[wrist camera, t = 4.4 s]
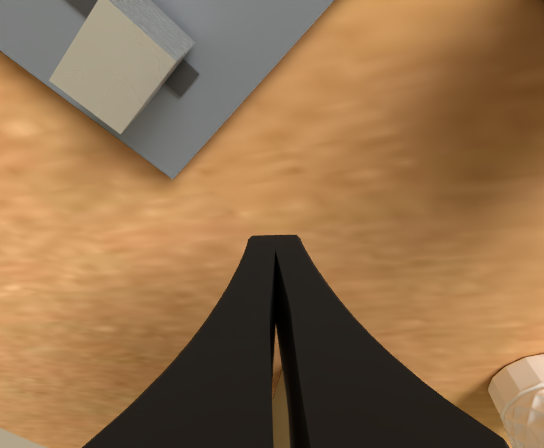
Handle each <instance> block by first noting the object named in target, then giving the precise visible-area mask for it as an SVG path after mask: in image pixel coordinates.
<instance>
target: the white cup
mask: <svg viewBox="0 0 544 448" xmlns="http://www.w3.org/2000/svg"><path fill="white" fill-rule="evenodd" d="M488 392H489V394H490V397H491V399H492V401H493V403H494V405H495V407H496V409H497V411H498V413H499V415H500V417H501V420H502V422H503V425H504V430H505V432H506V434H507V436H508V438H509V439H510V442H511V445H512V447H513V448H544V354H540V355H534V356H529V357H525V358H522V359H520V360H518V361H516V362H513V363H511V364H509V365H507V366H505V367H504V368H503V369H502V370H501V371H499V372H498V373H497V374H496V375H495V376H494V377H493V378H492V380H491V382H490V385H489V387H488Z"/></svg>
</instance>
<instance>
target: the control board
mask: <svg viewBox="0 0 544 448" xmlns="http://www.w3.org/2000/svg"><path fill="white" fill-rule="evenodd" d="M97 1H98V0H0V51H1V52H3V53H4V54H5V55H7V56H8V57H9V58H11V59H12V60H13V61H15V62H16V63H17V64H19V65H20V66H21V67H23V68H24V69H25V70H27V71H28V72H29V73H31V74H32V75H33V76H35V77H36V78H37V79H39V80H40V81H42V82H43V83H44V84H46V85H47V86H48V87H50V88H51V89H52V90H54V91H55V92H56V93H58V94H59V95H60V96H62V97H63V98H64V99H66V100H67V101H68V102H70V103H71V104H72V105H74V106H75V107H76V108H78V109H79V110H80V111H82V112H83V113H84V114H86V115H87V116H88V117H90V118H91V119H92V120H94V121H95V122H96V123H98V124H99V125H100V126H102V127H103V128H104V129H106V130H107V131H108V132H110V133H111V134H112V135H114V136H115V137H117V138H118V139H119V140H121V141H122V142H123V143H125V144H126V145H127V146H129V147H130V148H131V149H133V150H134V151H135V152H137V153H138V154H139V155H141V156H142V157H143V158H145V159H146V160H147V161H149V162H150V163H151V164H153V165H154V166H155V167H157V168H158V169H159V170H161V171H162V172H163V173H165V174H166V175H167V176H169V177H170V178H171V179H174V178H175V177H176V176H177V174H178V173H179V172H180V171H181V170H182V169H183V168H184V167H185V166H186V164H187V163H188V162H189V161H190V160H191V159H192V158H193V157H194V156H195V154H196V153H197V152H198V151H199V150H200V149H201V148H202V147H203V146H204V144H205V143H206V142H207V141H208V140H209V139H210V138H211V137H212V136H213V134H214V133H215V132H216V131H217V130H218V129H219V128H220V127H221V126H222V124H223V123H224V122H225V121H226V120H227V119H228V118H229V117H230V116H231V114H232V113H233V112H234V111H235V110H236V109H237V108H238V107H239V106H240V104H241V103H242V102H243V101H244V100H245V99H246V98H247V97H248V96H249V94H250V93H251V92H252V91H253V90H254V89H255V88H256V87H257V85H258V84H259V83H260V82H261V81H262V80H263V79H264V78H265V77H266V75H267V74H268V73H269V72H270V71H271V70H272V69H273V68H274V67H275V65H276V64H277V63H278V62H279V61H280V60H281V59H282V58H283V57H284V55H285V54H286V53H287V52H288V51H289V50H290V49H291V48H292V47H293V45H294V44H295V43H296V42H297V41H298V40H299V39H300V38H301V37H302V35H303V34H304V33H305V32H306V31H307V30H308V29H309V28H310V27H311V25H312V24H313V23H314V22H315V21H316V20H317V19H318V18H319V17H320V15H321V14H322V13H323V12H324V11H325V10H326V9H327V8H328V7H329V5H330V4H331V3H332V2H333V1H334V0H151V1H152V2H153V3H154V4H155V5H156V6H158V7H159V8H160V9H161V10H162V11H163V12H164V13H165V14H166V15H167V16H168V17H169V18H170V19H171V20H172V21H173V22H174V23H175V24H176V25H178V26H179V27H180V28H181V29H182V30H183V31H184V32H185V33H186V34H187V35H188V36H189V37H190V38H191V39H192V40H193V41H194V42H195V44H194V45H193V46H192V48H191V49H190V50H189V52H188V53H187V54H186V56H185V57H184V58H183V59H182V61H181V62H180V63H179V65H178V66H177V67H176V69H175V70H174V71H173V72H172V74H171V75H170V76H169V78H168V79H167V80H166V81H165V83H164V84H163V85H162V87H161V88H160V89H159V91H158V92H157V93H156V94H155V96H154V97H153V98H152V100H151V101H150V102H149V103H148V104H147V105H146V107H145V108H144V109H143V110H142V111H141V112H140V113H139V114H138V116H137V117H136V118H135V119H134V120H133V121H132V122H131V123H130V124H129V126H128V127H127V128H126V129H125V130H124V131H123V132H122V133H121V134H119V133H118V132H117V131H115V130H114V129H113V128H111V127H110V126H109V125H107V124H106V123H105V122H103V121H102V120H101V119H99V118H98V117H97V116H95V115H94V114H93V113H91V112H90V111H89V110H87V109H86V108H85V107H83V106H82V105H81V104H79V103H78V102H77V101H75V100H74V99H73V98H71V97H70V96H69V95H68V94H66V93H65V92H64V91H62V90H61V89H60V88H58V87H57V86H56V85H54V84H53V83H52V82H50V81H49V79H50V77H51V76H52V74H53V73H54V71H55V69H56V68H57V66H58V64H59V63H60V61H61V60H62V58H63V56H64V55H65V53H66V51H67V50H68V48H69V47H70V45H71V43H72V42H73V40H74V38H75V37H76V35H77V34H78V32H79V30H80V29H81V27H82V25H83V24H84V22H85V21H86V19H87V17H88V16H89V14H90V12H91V11H92V9H93V7H94V6H95V4H96V3H97Z"/></svg>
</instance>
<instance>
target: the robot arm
mask: <svg viewBox="0 0 544 448" xmlns="http://www.w3.org/2000/svg"><path fill="white" fill-rule="evenodd" d="M275 327H276V328H277V335H278V342H279V349H280V356H281V362H282V369H283V376H284V383H285V390H286V397H287V407H288V419H289V437H290V448H509V446H508V445H507V443H506V441H505V440H504V439H503V438H502V437H500V436H499V435H497V434H496V433H494V432H493V431H491V430H490V429H488V428H487V427H486V426H484V425H483V424H481V423H480V422H478V421H477V420H475V419H474V418H472V417H471V416H469V415H468V414H466V413H465V412H463V411H462V410H461V409H459V408H458V407H456V406H455V405H453V404H452V403H450V402H449V401H448V400H446V399H445V398H444V397H442V396H441V395H440V394H438V393H437V392H436V391H435V390H433V389H432V388H431V387H429V386H428V385H427V384H425V383H424V382H423V381H422V380H420V379H419V378H418V377H417V376H416V375H415V374H413V373H412V372H411V371H410V370H409V369H408V368H406V367H405V366H404V365H403V364H402V363H401V362H399V361H398V360H397V359H396V358H395V357H394V356H393V355H391V354H390V353H389V352H388V351H387V350H386V349H385V348H384V347H383V346H382V345H381V344H380V343H379V342H378V341H377V340H376V339H375V338H374V337H372V336H371V335H370V333H369V332H368V331H367V330H366V329H365V328H364V327H363V326H362V325H361V324H360V323H359V322H358V321H357V320H356V319H355V317H354V316H353V315H352V314H351V313H350V312H349V311H348V309H347V308H346V307H345V306H344V305H343V303H342V302H341V301H340V300H339V298H338V297H337V296H336V295H335V293H334V292H333V291H332V289H331V288H330V287H329V285H328V284H327V282H326V281H325V280H324V278H323V277H322V275H321V274H320V273H319V271H318V270H317V268H316V266H315V265H314V263H313V262H312V260H311V258H310V257H309V255H308V253H307V252H306V250H305V248H304V246H303V244H302V242H301V239H300V238H299V237H298V236H297V235H264V236H251V237H250V238H249V239H248V243H247V246H246V249H245V252H244V255H243V257H242V259H241V261H240V264H239V266H238V268H237V270H236V272H235V274H234V276H233V277H232V279H231V281H230V283H229V285H228V287H227V289H226V290H225V292H224V293H223V295H222V297H221V298H220V300H219V301H218V303H217V305H216V306H215V308H214V309H213V311H212V312H211V314H210V315H209V317H208V318H207V320H206V321H205V322H204V324H203V325H202V327H201V328H200V329H199V330H198V332H197V333H196V334H195V336H194V337H193V338H192V340H191V341H190V342H189V343H188V344H187V346H186V347H185V348H184V349H183V350H182V351H181V353H180V354H179V355H178V356H177V357H176V359H175V360H174V361H173V362H172V363H171V364H170V365H169V366H168V368H167V369H166V370H165V371H164V372H163V373H162V374H161V375H160V376H159V377H158V378H157V379H156V380H155V381H154V382H153V383H152V384H151V385H150V386H149V387H148V388H147V389H146V390H145V391H144V392H143V393H142V394H141V395H140V396H139V397H138V398H137V399H136V400H135V401H134V402H133V403H132V404H131V405H130V406H129V407H128V408H127V409H126V410H124V411H123V412H122V413H121V414H120V415H119V416H118V417H117V418H115V419H114V420H113V421H112V422H111V423H110V424H109V425H107V426H106V427H105V428H104V429H103V430H102V431H101V432H99V433H98V434H97V435H96V436H95V437H94V438H93V439H91V440H90V441H89V442H88V443H87V444H86V445H84V446H83V447H82V448H274V444H273V416H272V377H273V360H274V344H275Z"/></svg>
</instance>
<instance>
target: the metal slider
mask: <svg viewBox="0 0 544 448" xmlns="http://www.w3.org/2000/svg"><path fill="white" fill-rule="evenodd" d="M194 44H195V42H194V41H193V40H192V39H191V38H190V37H189V36H188V35H187V34H186V33H185V32H184V31H183V30H182V29H181V28H180V27H179V26H178V25H176V24H175V23H174V22H173V21H172V20H171V19H170V18H169V17H168V16H167V15H166V14H165V13H164V12H163V11H162V10H161V9H160V8H159V7H158V6H156V5H155V4H154V3H153V2H152V1H151V0H98V1H97V3H96V4H95V6H94V7H93V9H92V11H91V12H90V14H89V16H88V17H87V19H86V21H85V22H84V24H83V25H82V27H81V29H80V30H79V32H78V34H77V35H76V37H75V38H74V40H73V42H72V43H71V45H70V47H69V48H68V50H67V51H66V53H65V55H64V56H63V58H62V60H61V61H60V63H59V64H58V66H57V68H56V69H55V71H54V73H53V74H52V76H51V77H50V79H49V81H50V82H52V83H53V84H54V85H56V86H57V87H58V88H60V89H61V90H62V91H64V92H65V93H66V94H68V95H69V96H70V97H71V98H73V99H74V100H75V101H77V102H78V103H79V104H81V105H82V106H83V107H85V108H86V109H87V110H89V111H90V112H91V113H93V114H94V115H95V116H97V117H98V118H99V119H101V120H102V121H103V122H105V123H106V124H107V125H109V126H110V127H111V128H113V129H114V130H115V131H117V132H118V133H119V134H121V133H122V132H123V131H124V130H125V129H126V128H127V127H128V126H129V124H130V123H131V122H132V121H133V120H134V119H135V118H136V117H137V116H138V114H139V113H140V112H141V111H142V110H143V109H144V108H145V107H146V105H147V104H148V103H149V102H150V101H151V100H152V98H153V97H154V96H155V94H156V93H157V92H158V91H159V89H160V88H161V87H162V85H163V84H164V83H165V81H166V80H167V79H168V78H169V76H170V75H171V74H172V72H173V71H174V70H175V69H176V67H177V66H178V65H179V63H180V62H181V61H182V59H183V58H184V57H185V56H186V54H187V53H188V52H189V50H190V49H191V48H192V46H193V45H194Z"/></svg>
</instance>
